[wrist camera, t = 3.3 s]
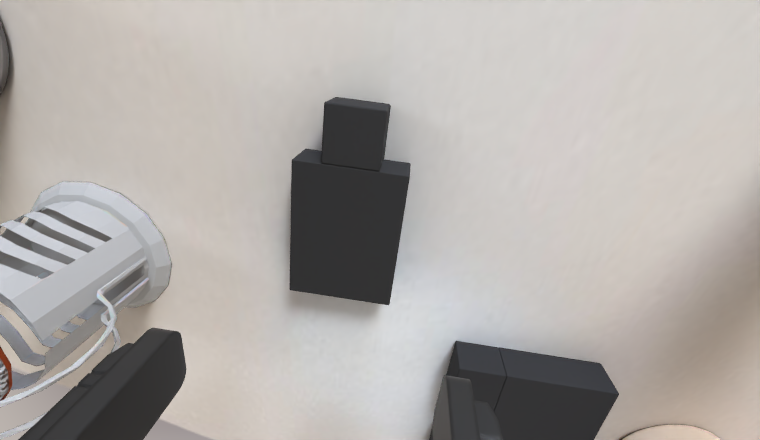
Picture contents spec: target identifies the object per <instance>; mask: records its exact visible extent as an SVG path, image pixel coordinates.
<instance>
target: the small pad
mask: <svg viewBox="0 0 760 440" xmlns="http://www.w3.org/2000/svg"><path fill="white" fill-rule="evenodd" d="M390 107H391V106H390V105H389V104H384V103H376V102H369V101H362V100H354V99H347V98H339V97H335V98H333V99H331V100H329V101H327V102H325V103H324V121H323V140H322V151H318V150H311V149H305V150H304V151H302V152H301V153H300V154H299V155H297V156H296V157H295V158H294V159H292V182H291V244H290V290H294V291H300V292H307V293H313V294H320V295H326V296H333V297H339V298H346V299H352V300H359V301H365V302H372V303H378V304H385V305H389V303H390V297H391V291H392V284H393V278H394V272H395V266H396V259H397V253H398V247H399V240H400V234H401V228H402V222H403V215H404V209H405V203H406V196H407V190H408V184H409V178H410V163H404V162H397V161H390V160H384V155H385V147H386V139H387V131H388V123H389V115H390Z"/></svg>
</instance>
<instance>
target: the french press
mask: <svg viewBox="0 0 760 440" xmlns="http://www.w3.org/2000/svg"><path fill="white" fill-rule="evenodd" d="M24 216H25V217H28V218H29V219H28V220H27V222H26V223H25V224H23V223H20V222H21V220H22V219H23V217H24ZM2 226H4V227H6V228H7V229H6V231H5V232H4V233H3V234H2V235H0V302H2V303H3V304H5V305H6V306H8V307H9V308H11V309H12V310H14V311H15V312H16V314H17V315H18V316H19V317H20V318H21V319H22V320H23V321H24V322H25V323H26V324H27V326H28V327H29V328H30V329H31V330H32V332H33V333H34V334H35V336H36V337H37V338H38V339H39V341H40V342H41V343H42V345H44V346H47V347H50V348H51V349H50V350H49V351H48V352H46V353H45V356H43V355H40V354H37V353H34V352H33V351H32V350H31V349H30V347H29V346H28V345H27V343H26V342H25V341H24V339H23V338H22V336H21V335H20V334H19V332H18V331H17V330H16V329H15V328H14V327H13V326H12V325H11V324H10V323H9V322H8V321H7V320H6V318H5V317H4V316H2V315H1V314H0V334H1V335H2V336H3V337H4V338H5V340H6V341H7V342H8V343H9V344H10V346H11V347H12V348H13V350H14V351H15V353H16V354H17V355H18V357H19V358H20V360H21V361H22V362H25V363H28V364H31V365H34V366H40V365H43V364H45V369H44V370H41V371H38V372H34V373H31V374H27V375H23V374H20V373H17V372H14V371H11V363H10V362H9V360H8V358H7V357H6V355H5V354H4V352H3V350H2V348H1V347H0V408H1V407H3V406H5V405H8V404H10V403H13V402H15V401H18V400H20V399H23V398H25V397H28V396H30V395H33V394H35V393H38V392H40V391H43V390H44V389H46V388H47V387H49V386H51V385H52V384H54V383H56V382H57V381H59V380H60V379H62V378H64V377H65V376H67V375H68V374H70V373H72V372H73V371H75V370H76V369H77V368H79V367H80V366H81V365H82V364H83V363H84V362H85V361H86V360H87V359H89V358H90V357H91V356H92V355H93V354H94V353H95V352H96V351H97V350H99V349H100V348H101V347H102V346H103V344H104V343H105V341H106V339H107V338H108V336H109V334H110V333H111V332H112V333H113V336H114V341H115V345H114V347H113V349H112V351H111V353H112V352H114V351H115V350H117V349H119V346H120V343H121V340H120V337H119V333H118V330H117V329H116V328H115V327H114V324H115V322H116V320H117V316H116V314H117V313H118V312H120V311H121V310H122V309H123V308H124V307H130V308H136V307H138V306H141V305H144V304H147V303H150V302H152V301H155V300H156V299H157V298H158V297H159V295H160V294H161V293H162V292H163V291H164V290H165V289H166V287H167V286H168V283H169V277H170V271H171V265H172V264H171V260H170V257H169V253H168V250H167V246H166V243H165V239H164V238H163V236H162V235H161V234H160V232H159V231H158V229H157V228H156V227H155V225H154V224H153V222H152V221H151V220H150V218H149V217H148V215H147V214H146V213H145V212H143V211H142V210H141V209H139V208H138V207H137V206H136V205H134V204H133V203H132V202H130V201H129V200H128V199H126V198H125V197H124V196H123V195H121V194H120V193H117V192H114V191H112V190H109V189H107V188H104V187H102V186H99V185H96V184H94V183H91V182H61V183H59V184H57V185H55V186H53V187H51V188H49V189H47V190H45V191H43V192H41V193H40V195H39V197H38V199H37V201H36V202H35V204H34V206H33V208H32V210H31V212H30V213H28V214H25V215H23V216H21V217H19V218H17V219H15V220H10V221H8V222H5V223H3V224H1V225H0V228H1V227H2ZM36 276H38V277H39V278H37V277H36ZM76 315H77V316H78V317H79V318H82V319H85V320H87V321H85V322H84V323H83V324H82V325H80V326H79V325H75V324H71V323H70V320H71V319H72V318H74V317H75V316H76ZM109 320H110V322H109ZM104 324H105V325H106V326H107V328H106V330H105V332H104V333H103V335H102V336H101V338H100V339H99V341H98V342H97V343H96V345H95V346H93V347H92V348H91V349H90V350H89V351H88V352H86V353H85V354H84V355H83V356H82V357H81V358H80V359H78V360H77V361H76V362H75V363H74V364H73V365H72V366H70V367H69V368H67V369H66V370H64V371H62V372H60V373H59V374H57V375H55V376H53V377H52V378H50V379H48V380H46V381H45V382H43V383H41V384H40V385H38V386H36V387H34V388H32V389H30V390H28V391H25V392H22V393H20V394H17V395H15V396H12V397H9V398H7V399H5V397H6V396H7V394H8V393H9V392H10V390H14V389H21V388H25V387H27V386H30V385H32V384H34V383H36V382H37V381H38V380H39V379H41V378H42V377H43V376H44V375H45V374H47V373H48V372H49V371H50V370H51V369H52V368H54V367H55V366H56V365H57V364H58V363H60V362H61V361H62V360H63V359H64V358H65V357H67V356H68V355H69V354H70V353H71V352H73V351H74V350H75V349H76V348H77V347H78V346H80V345H81V344H82V343H83V342H84V341H86V340H87V339H88V338H89V337H90V336H91V335H93V334H94V333H95V332H96V331H97V330H98V329H100V328H101V327H102V326H103V325H104ZM59 328H60V329H61V330H62V331H64V332H68V333H70V334H69V335H68V336H67V337H65V338H64V339H63V340H62V339H58V338H54V337H53V336H52V335H51V334H52V333H54V332H55V331H56V330H58V329H59ZM46 413H47V412H46ZM46 413H44V414H43V415H41V416H39V417H37V418H35V419H34V420H32V421H30V422H28V423H25V424H23V425H20V426H18V427H16V428H13V429H11V430H8V431H6V432H3V433H1V434H0V440H1V439H4V438H6V437H9V436H11V435H14V434H16V433H19V432H21V431H24V430H26V429H29V428H31V427H32V426H34V425H35V424H36V423H37V422H38V421H39V420H40V419H41V418H42V417H43V416H44V415H45V414H46Z"/></svg>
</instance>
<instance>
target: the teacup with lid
mask: <svg viewBox="0 0 760 440" xmlns="http://www.w3.org/2000/svg"><path fill="white" fill-rule="evenodd" d="M622 440H721V439H720V438H719V437H717V436H716V435H714V434H712V433H710V432H708V431H706V430H704V429H701V428H697V427H693V426H688V425H660V426H654V427H649V428H646V429H642V430H639V431H637V432H635V433H632V434H630V435H628V436H627V437H625V438H623V439H622Z"/></svg>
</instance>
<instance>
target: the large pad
mask: <svg viewBox="0 0 760 440" xmlns="http://www.w3.org/2000/svg"><path fill="white" fill-rule="evenodd" d="M446 376H452V377H459V378H465V379H470V381H471V384H472V389H473V396H474V400H477V401H483V402H488V404H489V405H490V407H491V409H492V410H493V412H494V413H495V415H496V417H497V418H498V420H499V424H500V428H501V433H502V437H503V440H594V438H595V436H596V435H597V433H598V431H599V429H600V427H601V426H602V424H603V422H604V420H605V419H606V417H607V415H608V413H609V411H610V410H611V408H612V406H613V404H614V402H615V401H616V399H617V397H618V395H619V393H618V391H617V390H616V388H615V386H614V385H613V383H612V381H611V380H610V378H609V376H608V375H607V373H606V371H605V370H604V368H603V367H602V365H601V364H600V363H594V362H587V361H581V360H574V359H568V358H562V357H555V356H549V355H542V354H536V353H530V352H523V351H517V350H511V349H504V348H497V347H491V346H484V345H478V344H471V343H465V342H459V341H456V342H455V346H454V349H453V353H452V357H451V360H450V364H449V368H448V372H447V375H446ZM429 440H433V428H432V431H431V435H430V439H429Z"/></svg>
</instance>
